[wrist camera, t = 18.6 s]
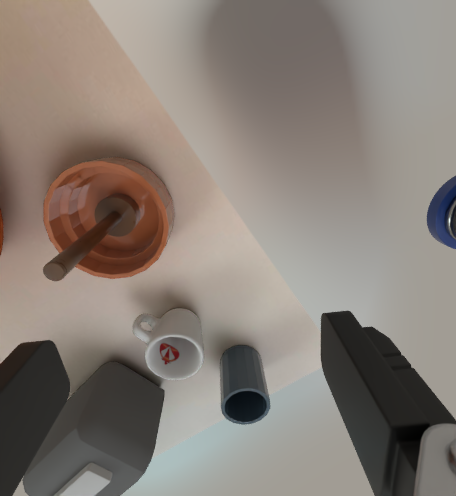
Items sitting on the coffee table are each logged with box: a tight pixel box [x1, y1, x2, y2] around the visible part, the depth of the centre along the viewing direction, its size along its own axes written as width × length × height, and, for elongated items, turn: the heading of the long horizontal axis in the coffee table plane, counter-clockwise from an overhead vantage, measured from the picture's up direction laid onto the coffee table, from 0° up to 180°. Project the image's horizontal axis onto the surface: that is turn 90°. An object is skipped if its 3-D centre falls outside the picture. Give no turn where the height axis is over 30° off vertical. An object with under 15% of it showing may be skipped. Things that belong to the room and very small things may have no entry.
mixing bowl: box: [44, 157, 174, 279], centre depth 38 cm, size 14×14×6 cm
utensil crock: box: [220, 345, 270, 424], centre depth 47 cm, size 7×7×9 cm
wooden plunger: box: [43, 193, 140, 281], centre depth 31 cm, size 5×5×18 cm
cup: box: [133, 308, 204, 380], centre depth 43 cm, size 11×8×8 cm
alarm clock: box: [23, 362, 164, 496], centre depth 45 cm, size 16×11×16 cm
